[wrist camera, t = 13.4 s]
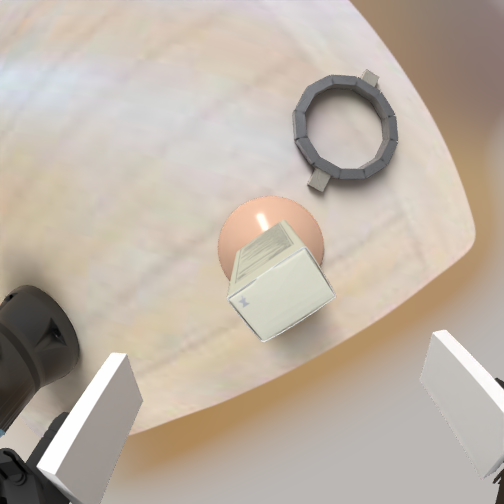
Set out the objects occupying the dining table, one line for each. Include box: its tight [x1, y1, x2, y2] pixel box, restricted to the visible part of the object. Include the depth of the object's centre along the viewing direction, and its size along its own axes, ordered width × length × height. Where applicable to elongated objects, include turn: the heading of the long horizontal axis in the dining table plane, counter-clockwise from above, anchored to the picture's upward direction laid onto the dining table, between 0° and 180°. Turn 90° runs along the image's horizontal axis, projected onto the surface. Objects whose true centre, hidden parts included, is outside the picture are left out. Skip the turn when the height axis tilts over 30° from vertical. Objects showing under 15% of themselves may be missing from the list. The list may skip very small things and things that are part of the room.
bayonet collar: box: [292, 69, 398, 192], centre depth 26 cm, size 15×11×2 cm
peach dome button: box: [218, 196, 324, 280], centre depth 31 cm, size 11×11×1 cm
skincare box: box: [227, 220, 336, 342], centre depth 24 cm, size 6×4×12 cm
